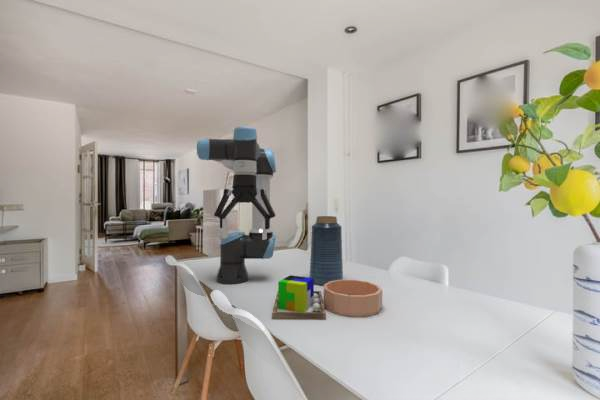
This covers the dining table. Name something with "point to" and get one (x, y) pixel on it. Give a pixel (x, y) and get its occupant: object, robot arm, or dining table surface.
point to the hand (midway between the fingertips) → (244, 238)
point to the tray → (300, 314)
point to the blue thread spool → (326, 250)
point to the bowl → (352, 298)
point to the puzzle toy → (295, 293)
